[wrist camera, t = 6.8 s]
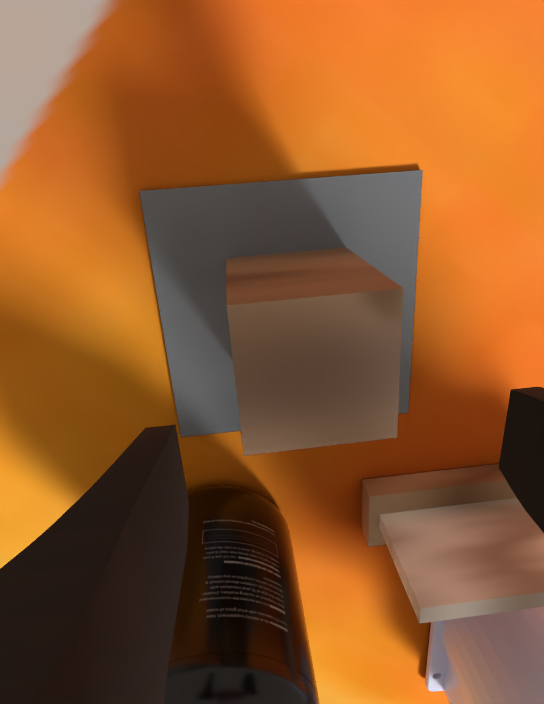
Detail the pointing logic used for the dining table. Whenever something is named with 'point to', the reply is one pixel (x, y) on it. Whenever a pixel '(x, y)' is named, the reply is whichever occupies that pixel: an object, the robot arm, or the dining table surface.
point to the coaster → (261, 239)
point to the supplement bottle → (239, 607)
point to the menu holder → (457, 541)
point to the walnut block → (313, 349)
